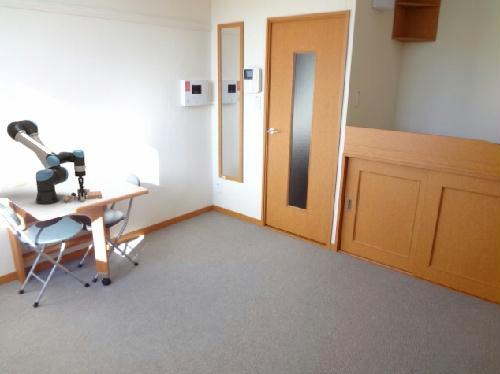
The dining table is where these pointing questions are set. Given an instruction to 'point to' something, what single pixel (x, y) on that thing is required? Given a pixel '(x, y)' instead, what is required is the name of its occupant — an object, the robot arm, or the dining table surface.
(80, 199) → the walnut block
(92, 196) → the terracotta stand
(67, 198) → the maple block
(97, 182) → the dining table surface
